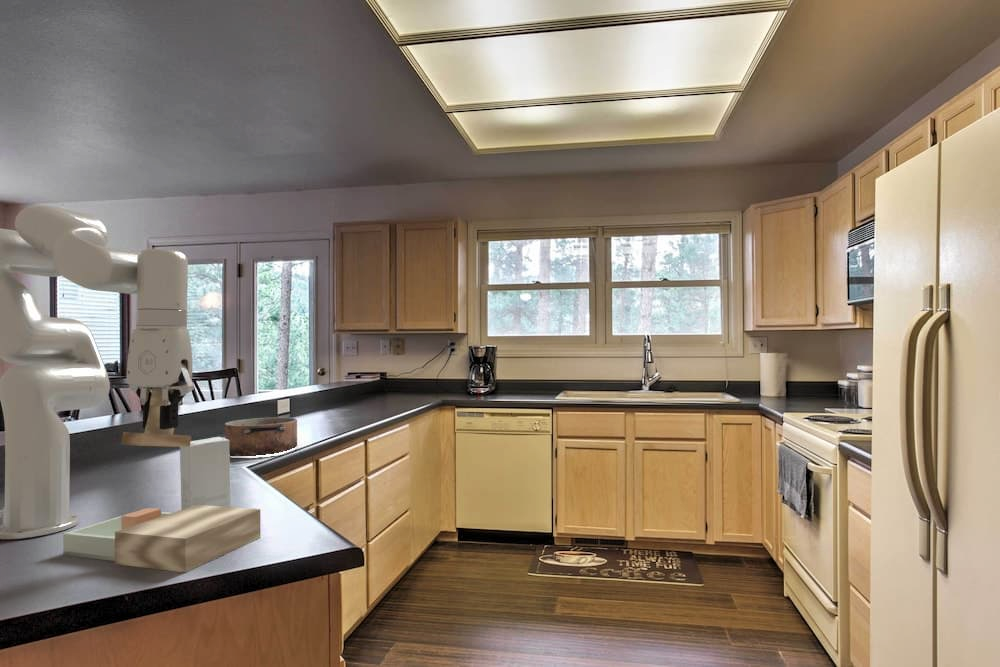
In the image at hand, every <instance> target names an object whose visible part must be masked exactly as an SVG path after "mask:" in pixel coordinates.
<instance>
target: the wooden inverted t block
mask: <svg viewBox="0 0 1000 667" xmlns="http://www.w3.org/2000/svg"><path fill="white" fill-rule="evenodd" d="M171 386H174V383H173V384H172V385H171ZM172 392H173V390H170V394H171V393H172ZM151 393H152V395H151V400H150V407H149V413H148V418H147V424H146V427H145V428H144V432H131V431H130V432H129V431H123V432H122V437H121V440H120V442H121V443H120V445H125V446H137V447H141V446H143V447H145V446H146V447H175V448H177V447H179V448H180V447H190V442H191V441H192V435H187V434H186V435H184V434H183V435H182V434H174V432H175V428H170V429H160V406H163V405H164V404H163V396H162V387H153V389H152V390H151Z"/></svg>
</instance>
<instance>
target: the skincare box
mask: <svg viewBox="0 0 1000 667" xmlns="http://www.w3.org/2000/svg"><path fill="white" fill-rule="evenodd" d="M230 460H231V458H230V456H229V440H228V439H225V437H222V436H216V437H214V436H213V437H210V438H204V439H198V440H191V442H190V447H179V464H180V472H179V474H180V507H181V509H180V510H183V509H186V508H189V507H192V506H195V505H209V506H222V507H232V506H231V505H232V504H231V470H230V468H231V466H230V465H231V463H230Z"/></svg>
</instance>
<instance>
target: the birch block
mask: <svg viewBox="0 0 1000 667" xmlns="http://www.w3.org/2000/svg"><path fill="white" fill-rule="evenodd" d="M170 513H171V514H168V515H165V516H162V517H159V518H155V519H152V520H149V521H146V522H143V523H140V524H137V525H134V526H131V527H128V528H125V529H122V530H119V531H116V532H115V561H114V564H115V565H121V566H129V567H136V568H145V569H153V570H162V571H171V572H178V573H179V572H180V573H188V572H190V571H191V570H194V569H196V568H198V567H200V566H202V565H205V564H207V563H209V562H211V561H214V560H215V559H218V558H220V557H223V556H224V555H226V554H229V553H231V552H233V551H235V550H237V549H239V548H241V547H244V546H246V545H248V544H250V543H253V542H254V541H256V540H259V539H260V538H261V509H260V508H248V507H247V508H245V507H233V506H231V507H222V506H209V505H195V506H192V507H189V508H186V509H183V510H181V509H180V510H177V511H174V512H170Z"/></svg>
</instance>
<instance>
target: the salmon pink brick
mask: <svg viewBox="0 0 1000 667" xmlns="http://www.w3.org/2000/svg"><path fill="white" fill-rule="evenodd" d="M161 512H162V509H161V508H153V507H147V508H143V509H140V510H139V509H138V510H137V511H133V513H132V512H130V514H129V513H127V514H123V515H120V516H121V530H122V529H125V528H128V527H131V526H134V525H137V524H140V523H143V522H146V521H149V520H152V519H155V518H159V517H161Z"/></svg>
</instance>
